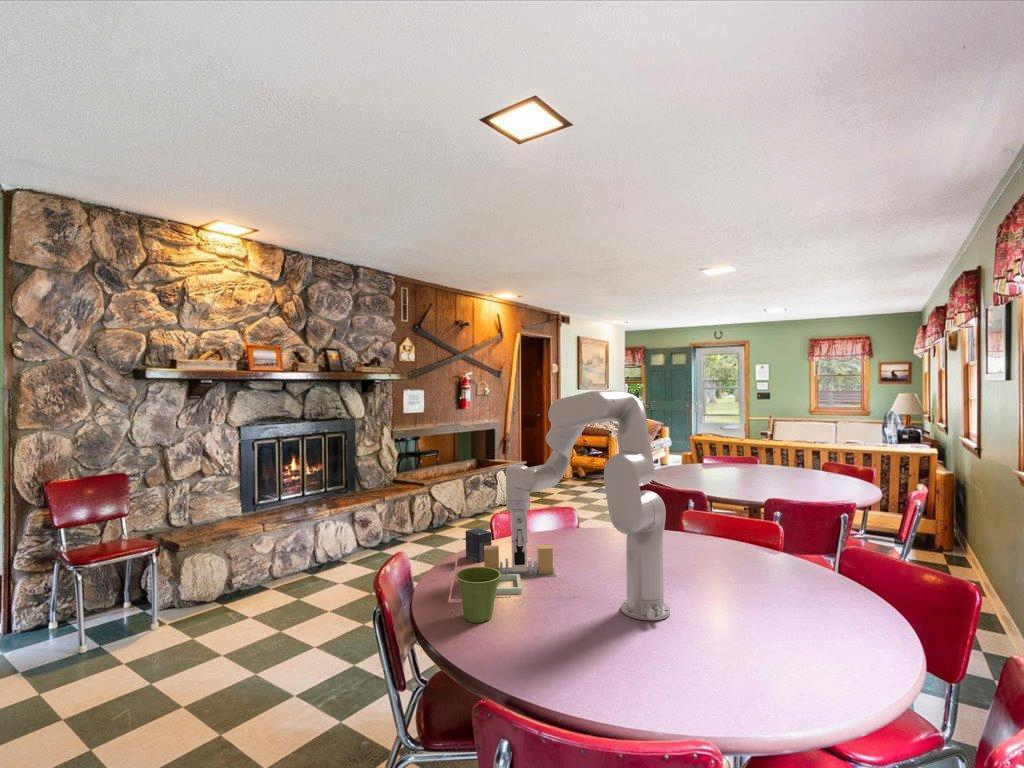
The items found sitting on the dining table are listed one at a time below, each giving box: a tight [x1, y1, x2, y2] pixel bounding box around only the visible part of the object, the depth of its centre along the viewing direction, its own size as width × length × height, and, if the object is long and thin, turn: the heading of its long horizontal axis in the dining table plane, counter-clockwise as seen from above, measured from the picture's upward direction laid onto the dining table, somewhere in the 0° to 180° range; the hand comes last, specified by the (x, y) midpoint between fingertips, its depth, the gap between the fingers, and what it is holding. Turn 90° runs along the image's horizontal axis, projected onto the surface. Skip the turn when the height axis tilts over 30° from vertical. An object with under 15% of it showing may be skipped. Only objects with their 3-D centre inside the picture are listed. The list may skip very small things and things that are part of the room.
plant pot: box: [455, 566, 501, 624], centre depth 138 cm, size 12×12×11 cm
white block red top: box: [510, 535, 528, 572], centre depth 170 cm, size 4×4×10 cm
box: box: [465, 527, 492, 564], centre depth 184 cm, size 8×6×11 cm
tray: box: [495, 574, 523, 599], centre depth 157 cm, size 12×12×2 cm
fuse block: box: [483, 543, 557, 579], centre depth 170 cm, size 10×23×9 cm, turn 92°
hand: (519, 561), depth 169 cm, fingers closed on white block red top, 4 cm apart
